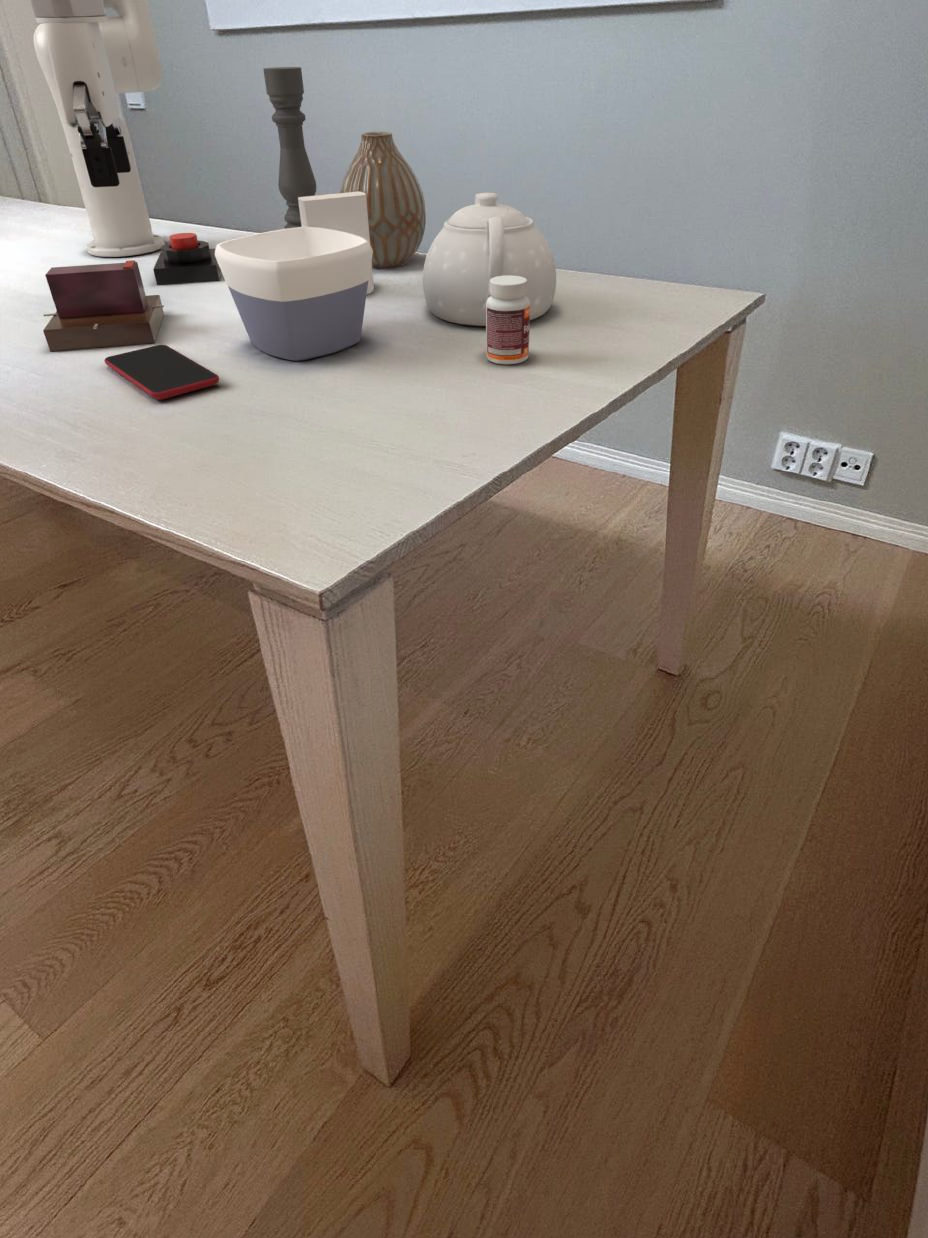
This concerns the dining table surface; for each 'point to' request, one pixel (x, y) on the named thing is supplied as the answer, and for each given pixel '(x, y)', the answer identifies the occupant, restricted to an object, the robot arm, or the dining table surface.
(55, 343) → the panel
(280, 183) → the candle holder
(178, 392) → the smartphone
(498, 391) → the dining table surface
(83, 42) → the robot arm
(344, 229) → the base with upright slab
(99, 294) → the bar
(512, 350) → the pill bottle
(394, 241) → the vase
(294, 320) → the bowl
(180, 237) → the button
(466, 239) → the teapot
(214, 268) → the button block
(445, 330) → the dining table surface
